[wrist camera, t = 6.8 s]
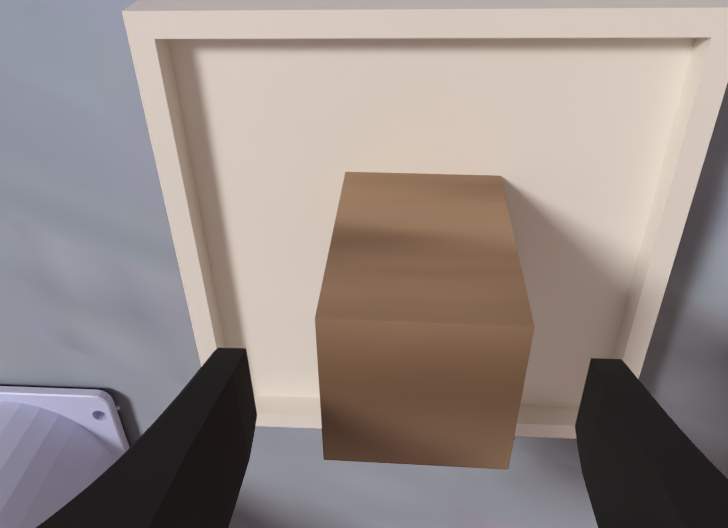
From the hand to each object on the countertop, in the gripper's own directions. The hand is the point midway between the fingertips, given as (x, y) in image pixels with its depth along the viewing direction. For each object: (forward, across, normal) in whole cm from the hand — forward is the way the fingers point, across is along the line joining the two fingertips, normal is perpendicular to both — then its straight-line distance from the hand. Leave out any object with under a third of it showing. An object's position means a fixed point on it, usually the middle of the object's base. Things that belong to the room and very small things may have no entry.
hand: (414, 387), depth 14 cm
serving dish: (+6, 0, 0) cm, 7 cm away
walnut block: (+5, 0, 0) cm, 5 cm away
